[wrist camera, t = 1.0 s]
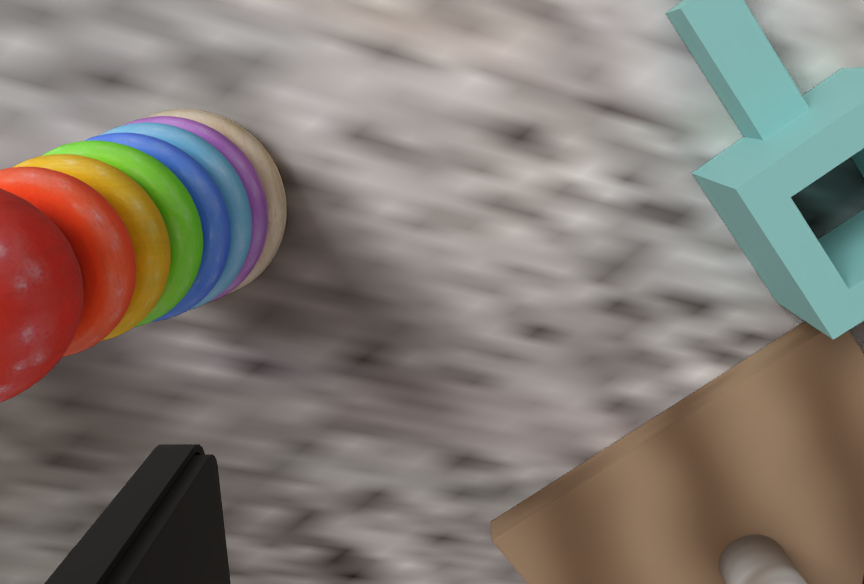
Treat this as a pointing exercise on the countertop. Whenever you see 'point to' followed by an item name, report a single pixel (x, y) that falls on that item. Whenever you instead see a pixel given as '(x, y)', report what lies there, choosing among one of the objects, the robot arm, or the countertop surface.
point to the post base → (717, 483)
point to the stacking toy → (129, 234)
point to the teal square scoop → (780, 163)
